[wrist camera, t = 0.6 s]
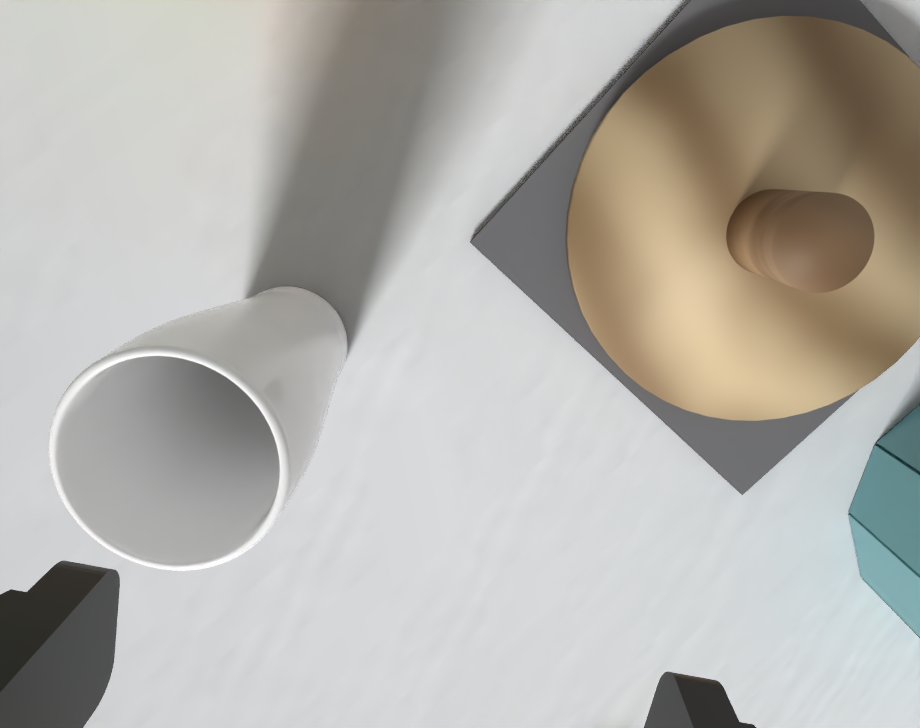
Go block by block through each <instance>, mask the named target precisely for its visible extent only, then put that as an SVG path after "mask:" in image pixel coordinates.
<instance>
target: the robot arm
mask: <svg viewBox="0 0 920 728" xmlns="http://www.w3.org/2000/svg"><path fill="white" fill-rule="evenodd" d="M119 587H120V580H119V574H118V572H117V571H116V570H113V569H107V568H102V567H96V566H91V565H85V564H80V563H74V562H69V561H60V562H59V563H57V564H56V565H54V566H53V567H52V568H51V569H50V570H49V571H48V572H47V573H46V574H45V575H44V576H43V577H42V578H41V579H40V580H39V581H38V582H37V583H36V584H35V585H34V586H33V587H32V588H31V589H30V590H29V591H28V592H22V591H16V590H9V591H7V592H5V593H3V594H1V595H0V728H83V727H84V725H85V724H86V722H87V721H88V719H89V718H90V717H91V715H92V714H93V712H94V711H95V709H96V708H97V706H98V705H99V703H100V701H101V699H102V697H103V695H104V693H105V690H106V688H107V685H108V682H109V679H110V676H111V673H112V668H113V663H114V654H115V641H116V627H117V614H118V600H119ZM644 728H756V727H755V726H754V725H752V724H747V723H741V722H739V720H738V718H737V716H736V714H735V712H734V709H733V707H732V705H731V703H730V701H729V699H728V696H727V694H726V692H725V690H724V688H723V686H722V685H721V684H720V682H718V681H716V680H711V679H705V678H700V677H694V676H689V675H683V674H678V673H672V672H665V673H664V674H663V675H662V677H661V678H660V680H659V683H658V685H657V689H656V692H655V695H654V698H653V701H652V704H651V707H650V711H649V714H648V717H647V720H646V723H645V726H644Z"/></svg>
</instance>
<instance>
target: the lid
mask: <svg viewBox="0 0 920 728" xmlns="http://www.w3.org/2000/svg"><path fill="white" fill-rule="evenodd" d="M565 239H566V253H567V265H568V269H569V274H570V279H571V284H572V288H573V291H574V294H575V297H576V300H577V302H578V305H579V308H580V311H581V313H582V314H583V316H584V318H585V320H586V322H587V324H588V326H589V328H590V330H591V332H592V333H593V335H594V336H595V337H596V339H597V340H598V342H599V343H600V345H601V346H602V347H603V349H604V350H605V351H606V353H607V354H608V355H609V357H610V358H611V359H612V360H613V361H614V362H615V363H616V364H617V365H618V366H619V367H620V368H621V369H622V370H623V372H624V373H625V374H627V375H628V376H629V377H630V378H631V379H633V380H634V381H635V382H636V383H638V384H639V385H640V386H641V387H643V388H644V389H645V390H647V391H649V392H650V393H652V394H654V395H655V396H657V397H659V398H660V399H662V400H664V401H666V402H668V403H670V404H673V405H675V406H677V407H680V408H682V409H684V410H687V411H690V412H694V413H698V414H701V415H705V416H708V417H714V418H721V419H728V420H745V421H759V420H769V419H779V418H785V417H789V416H794V415H798V414H803V413H807V412H810V411H812V410H815V409H818V408H821V407H824V406H827V405H830V404H832V403H834V402H836V401H838V400H840V399H842V398H844V397H846V396H848V395H850V394H852V393H854V392H856V391H857V390H859V389H860V388H862V387H863V386H865V385H867V384H868V383H870V382H871V381H873V380H874V379H876V378H877V377H878V376H880V375H881V374H882V373H883V372H884V371H886V370H887V369H888V368H889V367H891V366H892V365H893V364H894V363H896V362H897V361H898V360H899V359H900V358H901V357H902V356H903V355H904V354H905V353H906V352H907V351H908V350H909V349H910V347H911V346H912V345H913V344H914V343H915V342H916V341H917V340H918V338H919V337H920V68H919V67H918V66H917V65H916V64H915V63H914V62H913V61H912V60H911V59H910V58H909V57H908V56H906V55H905V54H904V53H902V52H901V51H899V50H898V49H897V48H895V47H894V46H892V45H891V44H890V43H888V42H887V41H885V40H883V39H881V38H879V37H877V36H875V35H873V34H871V33H869V32H867V31H865V30H863V29H860V28H857V27H854V26H851V25H848V24H845V23H842V22H839V21H834V20H828V19H822V18H816V17H809V16H777V17H769V18H760V19H753V20H749V21H745V22H741V23H738V24H734V25H730V26H726V27H724V28H721V29H719V30H716V31H714V32H711V33H709V34H706V35H704V36H702V37H699V38H697V39H696V40H694V41H692V42H690V43H689V44H687V45H685V46H683V47H681V48H680V49H678V50H676V51H674V52H673V53H671V54H669V55H667V56H666V57H664V58H663V59H662V60H660V61H659V62H658V63H656V64H655V65H654V66H652V67H651V68H650V69H648V70H647V71H646V72H644V73H643V74H642V75H641V76H640V77H639V78H638V79H637V80H636V81H635V82H634V83H633V84H632V85H631V86H630V87H629V88H628V89H626V90H625V91H624V92H623V94H622V95H621V96H620V97H619V99H618V100H617V101H616V102H615V103H614V105H613V106H612V107H611V108H610V110H609V111H608V112H607V113H606V115H605V116H604V118H603V120H602V121H601V123H600V124H599V126H598V128H597V129H596V131H595V132H594V134H593V136H592V137H591V139H590V141H589V144H588V146H587V148H586V150H585V152H584V154H583V156H582V159H581V161H580V163H579V166H578V169H577V173H576V176H575V179H574V182H573V185H572V189H571V194H570V199H569V205H568V210H567V221H566V238H565Z"/></svg>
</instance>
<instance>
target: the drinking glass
mask: <svg viewBox="0 0 920 728" xmlns="http://www.w3.org/2000/svg"><path fill="white" fill-rule="evenodd" d="M347 347H348V345H347V335H346V331H345V328H344V325H343V323H342V320H341V318H340V317H339V315H338V313H337V312H336V311H335V309H334V308H333V307H332V306H331V305H330V304H329V303H328V302H327V301H326V300H324V299H323V298H322V297H320V296H319V295H317V294H315V293H313V292H311V291H308V290H306V289H302V288H298V287H290V286H282V287H275V288H270V289H267V290H265V291H262V292H260V293H258V294H256V295H255V296H253V297H250V298H246V299H243V300H240V301H236V302H233V303H229V304H226V305H222V306H218V307H215V308H211V309H207V310H204V311H200V312H197V313H193V314H190V315H187V316H184V317H181V318H178V319H175V320H172V321H169V322H167V323H165V324H162V325H160V326H158V327H155V328H153V329H151V330H149V331H147V332H145V333H143V334H141V335H139V336H137V337H135V338H134V339H132V340H130V341H128V342H127V343H125V344H123V345H122V346H120V347H118V348H117V349H115V350H113V351H112V352H110V353H109V354H107V355H106V356H104V357H103V358H101V359H100V360H98V361H96V362H94V363H93V364H92V365H90V366H89V367H88V368H86V369H85V370H84V371H83V372H82V373H81V374H79V375H78V376H77V377H76V378H75V379H74V381H73V382H72V383H71V384H70V385H69V387H68V388H67V389H66V391H65V392H64V394H63V395H62V397H61V399H60V401H59V403H58V405H57V407H56V410H55V412H54V415H53V418H52V422H51V426H50V432H49V444H48V451H49V462H50V468H51V472H52V476H53V479H54V483H55V485H56V488H57V490H58V493H59V495H60V497H61V499H62V501H63V503H64V504H65V506H66V507H67V509H68V511H69V512H70V513H71V515H72V516H73V517H74V519H75V520H76V521H77V522H78V524H79V525H80V526H81V527H82V528H83V529H84V530H85V531H86V532H87V533H88V534H89V535H90V536H91V537H93V538H94V539H95V540H96V541H98V542H99V543H100V544H101V545H103V546H104V547H106V548H108V549H109V550H111V551H112V552H114V553H116V554H118V555H120V556H121V557H124V558H126V559H128V560H131V561H133V562H136V563H139V564H142V565H145V566H149V567H153V568H159V569H165V570H197V569H203V568H208V567H212V566H216V565H219V564H222V563H225V562H227V561H230V560H232V559H234V558H236V557H238V556H240V555H241V554H243V553H244V552H246V551H247V550H249V549H250V548H252V547H253V546H254V545H255V544H257V543H258V542H259V541H260V540H261V539H262V538H263V537H264V536H265V535H266V534H267V533H268V531H269V530H270V529H271V528H272V526H273V525H274V523H275V522H276V520H277V519H278V517H279V515H280V514H281V513H282V511H283V510H284V508H285V507H286V505H287V504H288V502H289V500H290V499H291V497H292V496H293V494H294V492H295V491H296V489H297V487H298V486H299V484H300V482H301V480H302V478H303V476H304V474H305V472H306V470H307V468H308V466H309V464H310V462H311V460H312V457H313V455H314V452H315V449H316V447H317V444H318V441H319V438H320V435H321V432H322V428H323V425H324V421H325V418H326V414H327V411H328V407H329V404H330V401H331V397H332V394H333V391H334V387H335V384H336V381H337V378H338V376H339V375H340V373H341V371H342V369H343V367H344V364H345V361H346V357H347Z"/></svg>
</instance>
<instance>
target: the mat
mask: <svg viewBox="0 0 920 728" xmlns="http://www.w3.org/2000/svg"><path fill="white" fill-rule="evenodd" d="M777 16H809V17H816V18H822V19H828V20H834V21H839V22H842V23H845V24H848V25H851V26H854V27H857V28H860V29H863V30H865V31H867V32H869V33H871V34H873V35H875V36H877V37H879V38H881V39H883V40H885V41H887V42H888V43H890V44H891V45H892V46H894V47H895V48H897V49H898V50H899V51H901V52H902V53H904V54H905V55H906V56H908V55H907V54H906V53H905V52H904V51H903V50H902V48H901V47H900V46H899V45H898V44H897V43H896V42H895V40H894V39H893V38H892V37H891V36H890V35H889V34H888V32H887V31H886V30H885V29H884V28H883V27H882V26H881V24H880V23H879V22H878V21H877V20H876V19H875V18H874V16H873V15H872V14H871V13H870V12H869V11H868V10H867V8H866V7H865V6H864V5H863V4H862V3H861V2H860V0H690V1H689V2H688V3H687V5H686V6H685V7H684V8H683V9H682V10H681V11H680V12H679V13H678V14H677V15H676V17H675V18H674V19H673V20H672V21H671V22H670V23H669V24H668V25H667V26H666V28H665V29H664V30H663V31H662V32H661V33H660V34H659V35H658V36H657V37H656V39H655V40H654V41H653V42H652V43H651V44H650V45H649V46H648V47H647V48H646V49H645V51H644V52H643V53H642V54H641V55H640V56H639V57H638V58H637V59H636V60H635V62H634V63H633V64H632V65H631V66H630V67H629V68H628V69H627V70H626V71H625V72H624V74H623V75H622V76H621V77H620V78H619V79H618V80H617V81H616V82H615V83H614V85H613V86H612V87H611V88H610V89H609V90H608V91H607V92H606V93H605V94H604V96H603V97H602V98H601V99H600V100H599V101H598V102H597V103H596V104H595V105H594V106H593V108H592V109H591V110H590V111H589V112H588V113H587V114H586V115H585V116H584V117H583V119H582V120H581V121H580V122H579V123H578V124H577V125H576V126H575V127H574V128H573V129H572V131H571V132H570V133H569V134H568V135H567V136H566V137H565V138H564V139H563V140H562V142H561V143H560V144H559V145H558V146H557V147H556V148H555V149H554V150H553V151H552V153H551V154H550V155H549V156H548V157H547V158H546V159H545V160H544V161H543V162H542V163H541V165H540V166H539V167H538V168H537V169H536V170H535V171H534V172H533V173H532V174H531V176H530V177H529V178H528V179H527V180H526V181H525V182H524V183H523V184H522V185H521V186H520V188H519V189H518V190H517V191H516V192H515V193H514V194H513V195H512V196H511V197H510V199H509V200H508V201H507V202H506V203H505V204H504V205H503V206H502V207H501V208H500V209H499V211H498V212H497V213H496V214H495V215H494V216H493V217H492V218H491V219H490V220H489V222H488V223H487V224H486V225H485V226H484V227H483V228H482V229H481V230H480V231H479V233H478V234H477V235H476V236H475V237H474V238H473V239H472V240H471V241H470V243H471V244H472V245H474V246H475V247H476V248H477V249H478V250H479V251H480V252H481V253H482V254H483V255H484V256H485V257H486V258H488V259H489V260H490V261H491V262H492V263H493V264H494V265H495V266H496V267H497V268H498V269H499V270H500V271H502V272H503V273H504V274H505V275H506V276H507V277H508V278H509V279H510V280H511V281H512V282H513V283H514V284H516V285H517V286H518V287H519V288H520V289H521V290H522V291H523V292H524V293H525V294H526V295H527V296H528V297H530V298H531V299H532V300H533V301H534V302H535V303H536V304H537V305H538V306H539V307H540V308H541V309H542V310H544V311H545V312H546V313H547V314H548V315H549V316H550V317H551V318H552V319H553V320H554V321H555V322H556V323H558V324H559V325H560V326H561V327H562V328H563V329H564V330H565V331H566V332H567V333H568V334H569V335H570V336H572V337H573V338H574V339H575V340H576V341H577V342H578V343H579V344H580V345H581V346H582V347H583V348H584V349H586V350H587V351H588V352H589V353H590V354H591V355H592V356H593V357H594V358H595V359H596V360H597V361H598V362H599V363H601V364H602V365H603V366H604V367H605V368H606V369H607V370H608V371H609V372H610V373H611V374H612V375H613V376H615V377H616V378H617V379H618V380H619V381H620V382H621V383H622V384H623V385H624V386H625V387H626V388H627V389H629V390H630V391H631V392H632V393H633V394H634V395H635V396H636V397H637V398H638V399H639V400H640V401H641V402H643V403H644V404H645V405H646V406H647V407H648V408H649V409H650V410H651V411H652V412H653V413H654V414H655V415H657V416H658V417H659V418H660V419H661V420H662V421H663V422H664V423H665V424H666V425H667V426H668V427H669V428H671V429H672V430H673V431H674V432H675V433H676V434H677V435H678V436H679V437H680V438H681V439H682V440H683V441H685V442H686V443H687V444H688V445H689V446H690V447H691V448H692V449H693V450H694V451H695V452H696V453H697V454H699V455H700V456H701V457H702V458H703V459H704V460H705V461H706V462H707V463H708V464H709V465H710V466H711V467H713V468H714V469H715V470H716V471H717V472H718V473H719V474H720V475H721V476H722V477H723V478H724V479H725V480H727V481H728V482H729V483H730V484H731V485H732V486H733V487H734V488H735V489H736V490H737V491H738V492H739V493H741V494H742V495H743V494H744V493H745V492H746V491H747V490H748V489H750V488H751V487H752V486H753V485H754V484H755V483H756V482H757V481H758V480H760V479H761V478H762V477H763V476H764V475H765V474H766V473H767V472H768V471H769V470H771V469H772V468H773V467H774V466H775V465H776V464H777V463H778V462H779V461H781V460H782V459H783V458H784V457H785V456H786V455H787V454H788V453H789V452H791V451H792V450H793V449H794V448H795V447H796V446H797V445H798V444H799V443H800V442H802V441H803V440H804V439H805V438H806V437H807V436H808V435H809V434H810V433H812V432H813V431H814V430H815V429H816V428H817V427H818V426H819V425H820V424H822V423H823V422H824V421H825V420H826V419H827V418H828V417H829V416H830V415H832V414H833V413H834V412H835V411H836V410H837V409H838V408H839V407H840V406H841V405H843V404H844V403H845V402H846V401H847V400H848V399H849V398H850V397H851V396H853V395H854V394H855V393H856V392H857V391H858V390H857V391H856V392H854V393H852V394H850V395H848V396H846V397H844V398H842V399H840V400H838V401H836V402H834V403H832V404H830V405H827V406H824V407H821V408H818V409H815V410H812V411H810V412H807V413H803V414H798V415H794V416H789V417H785V418H779V419H769V420H759V421H745V420H728V419H721V418H714V417H708V416H705V415H701V414H698V413H694V412H690V411H687V410H684V409H682V408H680V407H677V406H675V405H673V404H670V403H668V402H666V401H664V400H662V399H660V398H659V397H657V396H655V395H654V394H652V393H650V392H649V391H647V390H645V389H644V388H643V387H641V386H640V385H639V384H638V383H636V382H635V381H634V380H633V379H631V378H630V377H629V376H628V375H627V374H625V373H624V372H623V370H622V369H621V368H620V367H619V366H618V365H617V364H616V363H615V362H614V361H613V360H612V359H611V358H610V357H609V355H608V354H607V353H606V351H605V350H604V349H603V347H602V346H601V345H600V343H599V342H598V340H597V339H596V337H595V336H594V335H593V333H592V332H591V330H590V328H589V326H588V324H587V322H586V320H585V318H584V316H583V314H582V313H581V311H580V308H579V305H578V302H577V300H576V297H575V294H574V291H573V288H572V284H571V279H570V274H569V269H568V265H567V253H566V239H565V238H566V221H567V210H568V205H569V199H570V194H571V189H572V185H573V182H574V179H575V176H576V173H577V169H578V166H579V163H580V161H581V159H582V156H583V154H584V152H585V150H586V148H587V146H588V144H589V141H590V139H591V137H592V136H593V134H594V132H595V131H596V129H597V128H598V126H599V124H600V123H601V121H602V120H603V118H604V116H605V115H606V113H607V112H608V111H609V110H610V108H611V107H612V106H613V105H614V103H615V102H616V101H617V100H618V99H619V97H620V96H621V95H622V94H623V92H624V91H625V90H626V89H628V88H629V87H630V86H631V85H632V84H633V83H634V82H635V81H636V80H637V79H638V78H639V77H640V76H641V75H642V74H643V73H644V72H646V71H647V70H648V69H650V68H651V67H652V66H654V65H655V64H656V63H658V62H659V61H660V60H662V59H663V58H664V57H666V56H667V55H669V54H671V53H673V52H674V51H676V50H678V49H680V48H681V47H683V46H685V45H687V44H689V43H690V42H692V41H694V40H696V39H697V38H699V37H702V36H704V35H706V34H709V33H711V32H714V31H716V30H719V29H721V28H724V27H726V26H730V25H734V24H738V23H741V22H745V21H749V20H753V19H760V18H769V17H777ZM908 57H909V56H908Z"/></svg>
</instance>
